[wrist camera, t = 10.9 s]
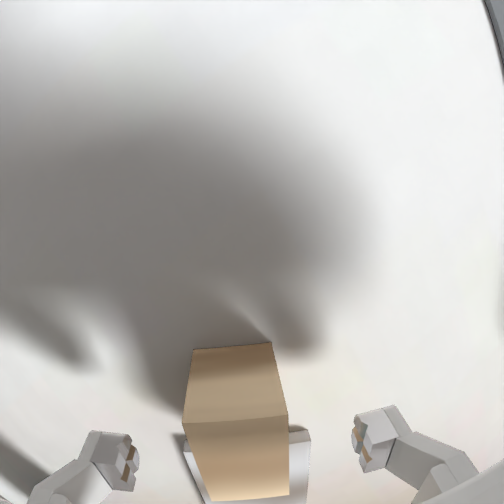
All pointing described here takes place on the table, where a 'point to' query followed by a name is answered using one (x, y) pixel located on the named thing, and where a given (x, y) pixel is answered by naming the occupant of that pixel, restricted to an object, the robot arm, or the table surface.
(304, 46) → the table surface
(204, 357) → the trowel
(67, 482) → the robot arm
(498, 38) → the mat
